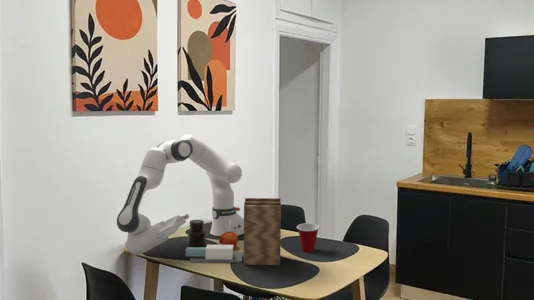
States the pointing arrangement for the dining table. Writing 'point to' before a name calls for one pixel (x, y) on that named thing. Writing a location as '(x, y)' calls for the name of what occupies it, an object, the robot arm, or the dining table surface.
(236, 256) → the mat
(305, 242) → the plastic cup
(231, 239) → the tomato
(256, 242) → the stand
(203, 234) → the ink bottle
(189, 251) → the block
